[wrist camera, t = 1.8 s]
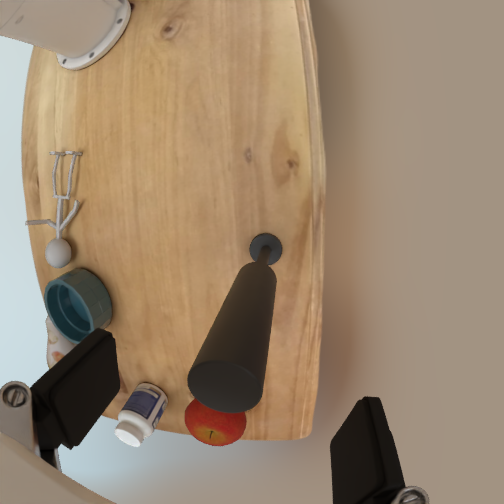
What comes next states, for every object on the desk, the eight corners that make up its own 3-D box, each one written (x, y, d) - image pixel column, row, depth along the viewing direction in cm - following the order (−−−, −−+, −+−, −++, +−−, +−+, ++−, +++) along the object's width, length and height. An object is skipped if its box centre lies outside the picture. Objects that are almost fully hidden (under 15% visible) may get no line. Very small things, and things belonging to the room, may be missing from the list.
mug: (72, 301, 34) (57, 360, 26) (99, 336, 40) (91, 389, 33) (38, 304, 33) (22, 357, 26) (66, 337, 40) (57, 386, 32)
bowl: (77, 253, 31) (53, 264, 26) (124, 301, 32) (103, 320, 27) (59, 295, 34) (38, 308, 29) (101, 338, 34) (82, 356, 30)
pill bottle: (131, 384, 36) (102, 425, 27) (154, 379, 35) (126, 425, 26) (151, 407, 37) (127, 449, 28) (175, 404, 36) (152, 450, 27)
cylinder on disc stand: (264, 226, 27) (215, 340, 8) (288, 248, 27) (286, 392, 9) (243, 249, 28) (166, 383, 9) (267, 270, 28) (230, 426, 10)
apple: (197, 371, 33) (178, 412, 26) (255, 386, 33) (247, 431, 25) (193, 406, 36) (177, 444, 28) (244, 419, 35) (235, 460, 28)
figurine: (61, 148, 22) (54, 282, 25) (93, 153, 28) (85, 269, 31) (31, 150, 23) (26, 270, 26) (62, 153, 29) (55, 260, 32)
